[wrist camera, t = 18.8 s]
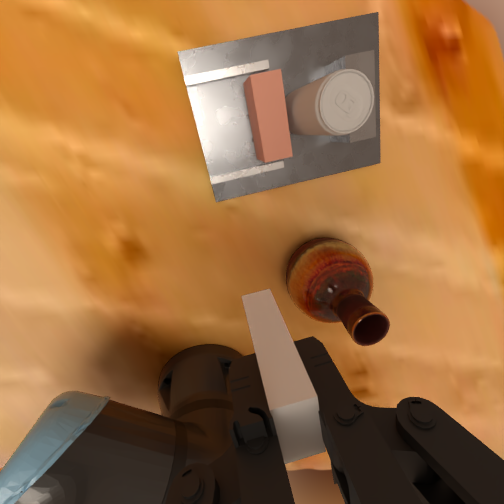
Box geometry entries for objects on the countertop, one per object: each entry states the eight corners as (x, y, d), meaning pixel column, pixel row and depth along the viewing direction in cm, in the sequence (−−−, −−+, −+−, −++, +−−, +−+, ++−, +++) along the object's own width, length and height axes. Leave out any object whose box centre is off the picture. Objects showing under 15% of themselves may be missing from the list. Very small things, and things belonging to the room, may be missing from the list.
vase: (273, 295, 44) (307, 373, 30) (287, 226, 40) (334, 277, 26) (339, 299, 46) (400, 372, 32) (358, 234, 42) (438, 284, 28)
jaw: (256, 158, 34) (265, 162, 30) (242, 83, 31) (249, 75, 27) (280, 153, 35) (292, 156, 30) (269, 78, 31) (280, 68, 27)
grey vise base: (215, 200, 37) (218, 212, 31) (178, 54, 30) (173, 36, 25) (376, 162, 38) (405, 167, 33) (373, 15, 32) (408, -10, 26)
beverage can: (303, 143, 35) (350, 147, 24) (271, 119, 33) (306, 112, 22) (327, 106, 34) (387, 92, 23) (295, 79, 32) (343, 51, 21)
